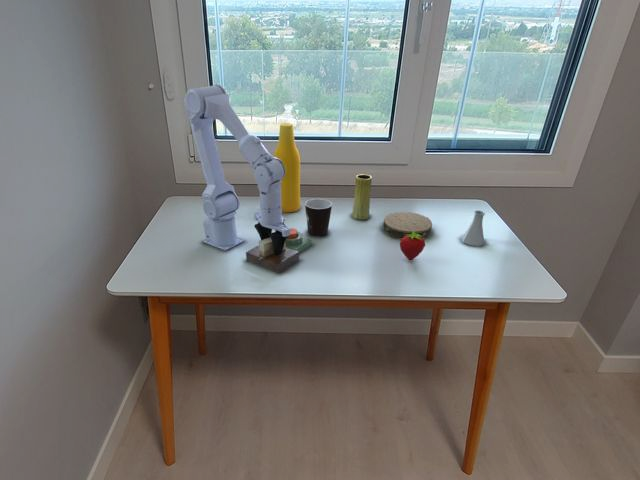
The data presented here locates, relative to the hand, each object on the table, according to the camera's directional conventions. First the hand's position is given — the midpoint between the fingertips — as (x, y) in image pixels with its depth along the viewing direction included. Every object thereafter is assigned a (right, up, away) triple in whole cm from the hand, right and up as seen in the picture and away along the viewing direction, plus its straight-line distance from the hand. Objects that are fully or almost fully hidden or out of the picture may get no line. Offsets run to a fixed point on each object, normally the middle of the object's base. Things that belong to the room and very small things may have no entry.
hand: (272, 250), depth 129 cm
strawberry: (+40, -2, +5) cm, 41 cm away
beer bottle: (+2, +20, +35) cm, 40 cm away
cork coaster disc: (+43, +10, +22) cm, 49 cm away
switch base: (0, -3, +2) cm, 3 cm away
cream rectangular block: (0, 0, 0) cm, 0 cm away
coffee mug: (+13, +9, +20) cm, 25 cm away
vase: (+28, +16, +30) cm, 44 cm away
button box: (+4, +3, +10) cm, 12 cm away
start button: (+5, +5, +9) cm, 11 cm away
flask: (+63, +5, +16) cm, 65 cm away
